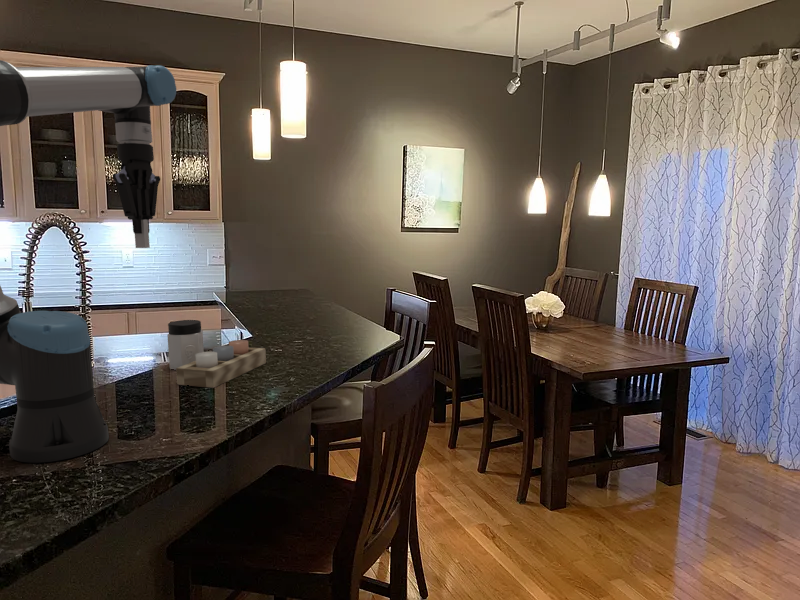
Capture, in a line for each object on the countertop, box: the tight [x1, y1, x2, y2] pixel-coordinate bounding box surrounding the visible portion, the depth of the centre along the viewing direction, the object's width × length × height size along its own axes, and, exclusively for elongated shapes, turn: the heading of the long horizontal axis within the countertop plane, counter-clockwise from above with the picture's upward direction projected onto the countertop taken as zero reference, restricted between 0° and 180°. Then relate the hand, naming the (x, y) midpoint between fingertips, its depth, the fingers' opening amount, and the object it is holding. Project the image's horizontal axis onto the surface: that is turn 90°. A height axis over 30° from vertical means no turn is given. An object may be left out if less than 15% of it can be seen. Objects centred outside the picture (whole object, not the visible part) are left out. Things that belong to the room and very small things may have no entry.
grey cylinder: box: [212, 344, 234, 361], centre depth 153 cm, size 5×5×5 cm
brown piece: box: [228, 339, 249, 355], centre depth 159 cm, size 5×5×5 cm
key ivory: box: [196, 351, 218, 368], centre depth 146 cm, size 5×5×5 cm
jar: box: [167, 319, 205, 371], centre depth 159 cm, size 9×8×12 cm
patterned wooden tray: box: [175, 346, 267, 389], centre depth 153 cm, size 24×10×4 cm, turn 163°
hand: (142, 247), depth 141 cm, fingers closed
